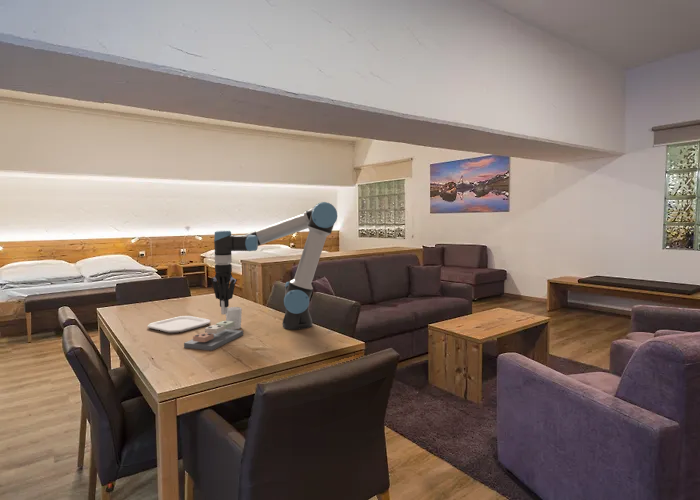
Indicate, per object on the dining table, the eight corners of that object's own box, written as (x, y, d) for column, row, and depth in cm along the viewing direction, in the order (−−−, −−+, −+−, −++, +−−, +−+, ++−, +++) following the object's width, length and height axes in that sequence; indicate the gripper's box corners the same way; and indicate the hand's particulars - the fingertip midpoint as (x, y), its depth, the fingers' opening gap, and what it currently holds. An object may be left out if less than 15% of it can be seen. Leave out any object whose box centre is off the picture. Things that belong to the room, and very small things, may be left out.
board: (243, 334, 196) (243, 330, 196) (211, 350, 173) (211, 345, 173) (218, 332, 200) (217, 328, 200) (184, 347, 178) (183, 342, 178)
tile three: (213, 338, 181) (213, 333, 181) (204, 342, 175) (204, 337, 175) (202, 337, 183) (202, 332, 183) (193, 341, 177) (192, 335, 177)
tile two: (224, 330, 188) (224, 325, 188) (216, 333, 183) (216, 328, 183) (213, 329, 190) (213, 324, 190) (204, 332, 185) (204, 327, 184)
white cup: (237, 330, 203) (237, 310, 203) (222, 329, 205) (222, 310, 204) (244, 326, 211) (244, 307, 210) (230, 325, 213) (230, 306, 212)
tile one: (234, 325, 196) (234, 320, 196) (227, 328, 190) (226, 324, 190) (223, 324, 198) (223, 319, 198) (215, 327, 192) (215, 323, 192)
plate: (173, 336, 195) (173, 331, 195) (142, 329, 208) (142, 324, 208) (215, 324, 216) (215, 320, 216) (185, 318, 229) (184, 314, 229)
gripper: (240, 263, 193) (240, 313, 195) (216, 262, 197) (217, 311, 199) (230, 265, 186) (231, 316, 188) (206, 264, 190) (207, 314, 192)
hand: (224, 313), depth 194 cm, fingers closed
